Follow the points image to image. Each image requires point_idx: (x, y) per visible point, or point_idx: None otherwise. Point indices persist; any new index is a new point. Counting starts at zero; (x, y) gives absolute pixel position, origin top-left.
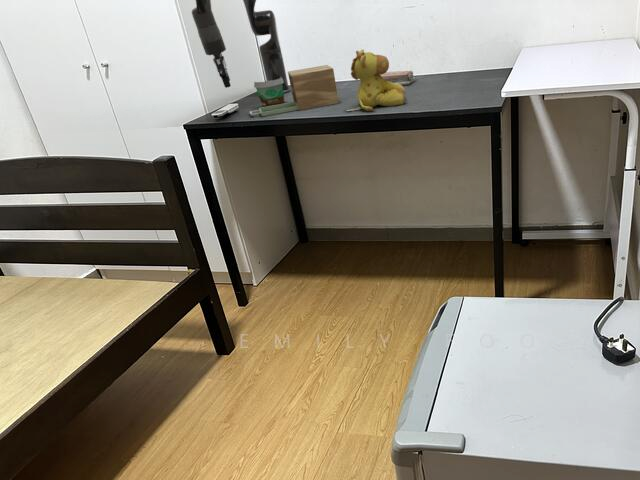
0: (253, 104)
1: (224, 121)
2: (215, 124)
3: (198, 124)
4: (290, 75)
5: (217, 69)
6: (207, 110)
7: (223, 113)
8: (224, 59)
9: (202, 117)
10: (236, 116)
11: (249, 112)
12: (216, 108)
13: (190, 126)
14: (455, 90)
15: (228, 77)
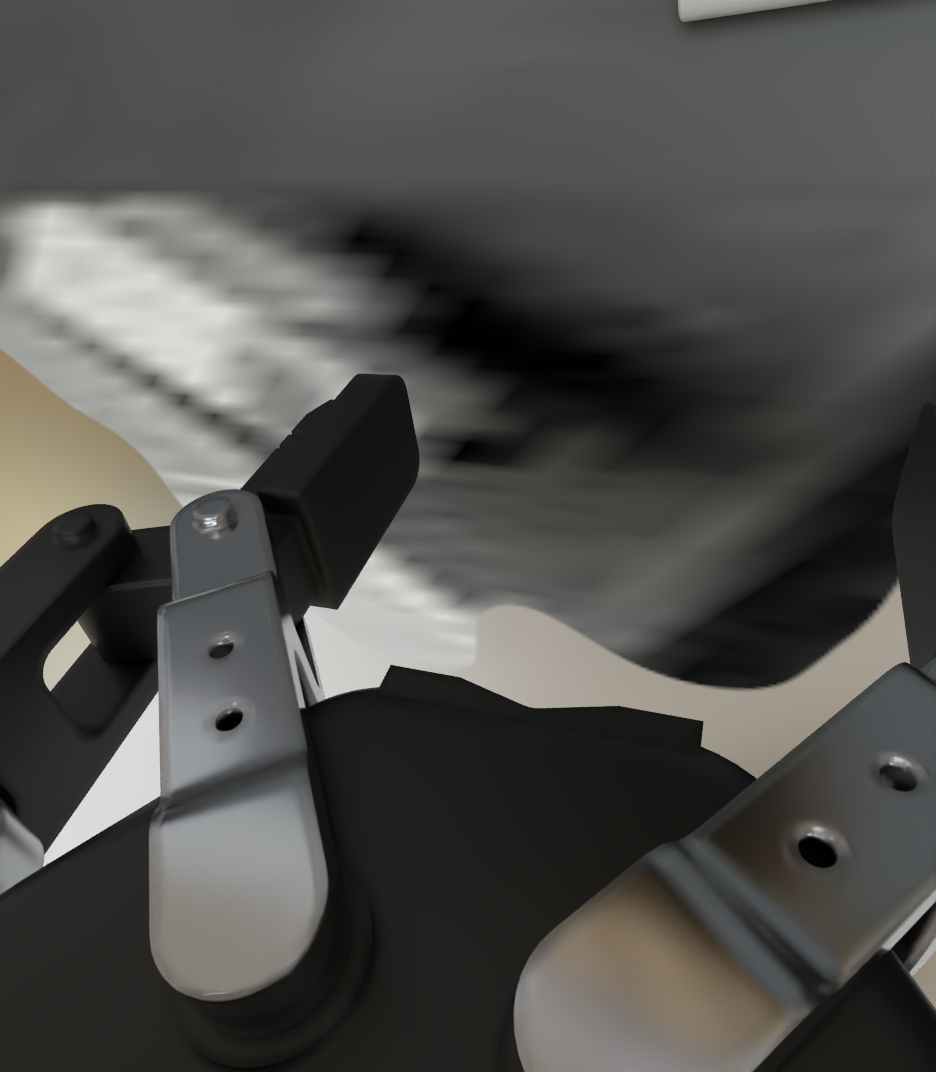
0: (84, 6)
1: (808, 395)
2: (882, 501)
3: (691, 621)
4: None
5: (919, 961)
6: (172, 477)
7: (359, 370)
8: (320, 828)
9: (408, 547)
10: (631, 236)
11: (707, 18)
12: (130, 407)
13: (714, 682)
14: None
15: (373, 419)
